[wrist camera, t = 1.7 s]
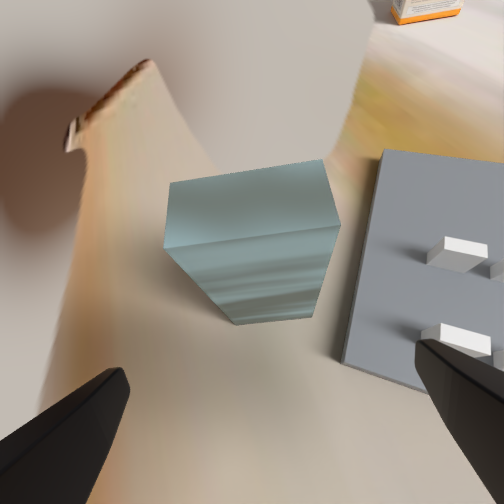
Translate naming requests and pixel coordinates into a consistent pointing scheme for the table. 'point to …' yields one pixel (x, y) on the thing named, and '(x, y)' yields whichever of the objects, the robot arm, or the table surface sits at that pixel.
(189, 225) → the tall streaky grey pillar
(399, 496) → the table surface
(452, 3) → the supplement box
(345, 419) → the table surface
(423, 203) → the base plate
